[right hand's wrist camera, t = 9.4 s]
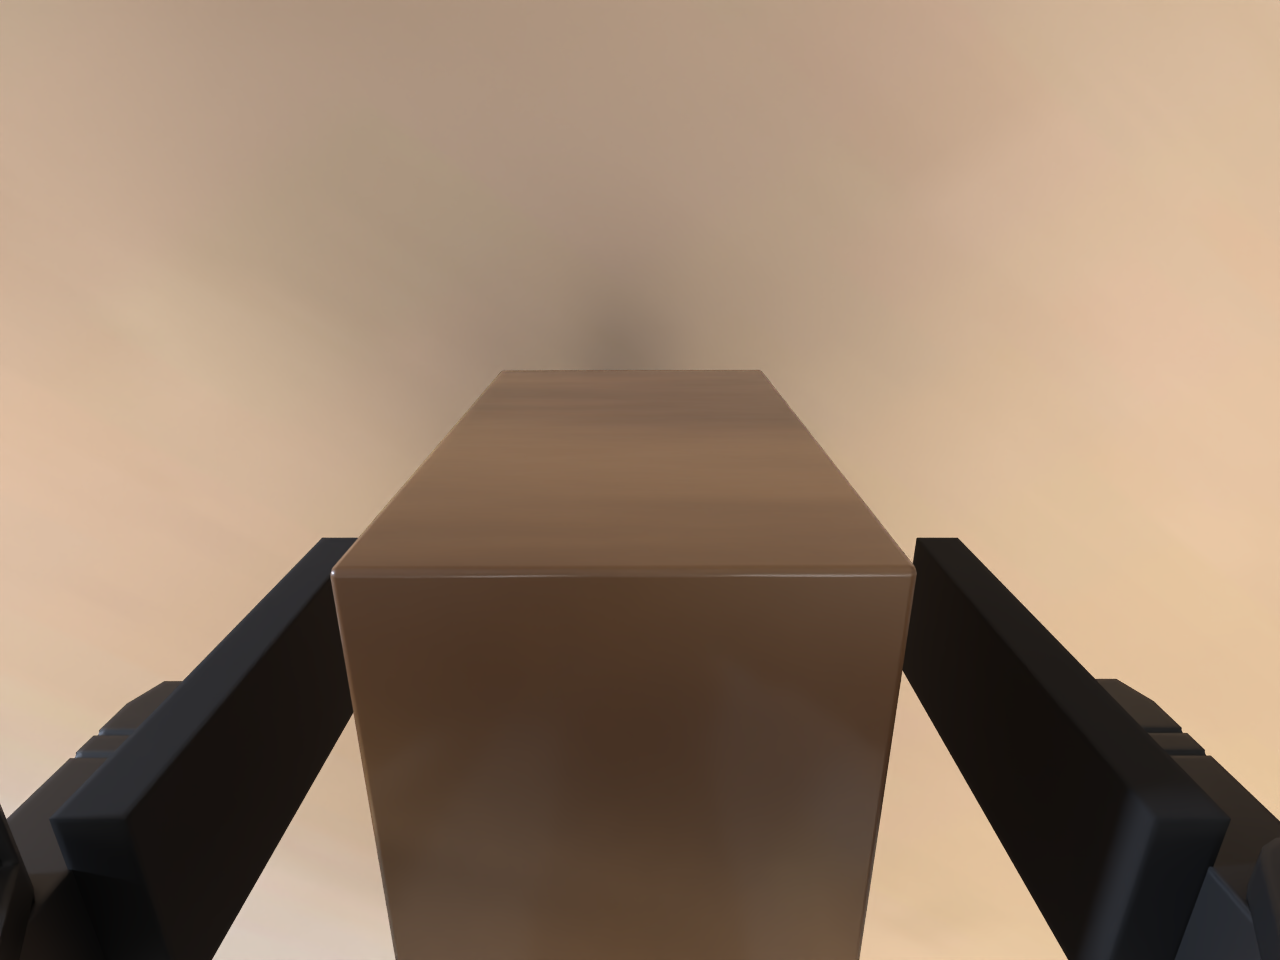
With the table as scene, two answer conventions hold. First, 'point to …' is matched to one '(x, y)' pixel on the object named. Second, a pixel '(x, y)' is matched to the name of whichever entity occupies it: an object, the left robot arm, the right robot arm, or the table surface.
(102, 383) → the table surface
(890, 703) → the bar
